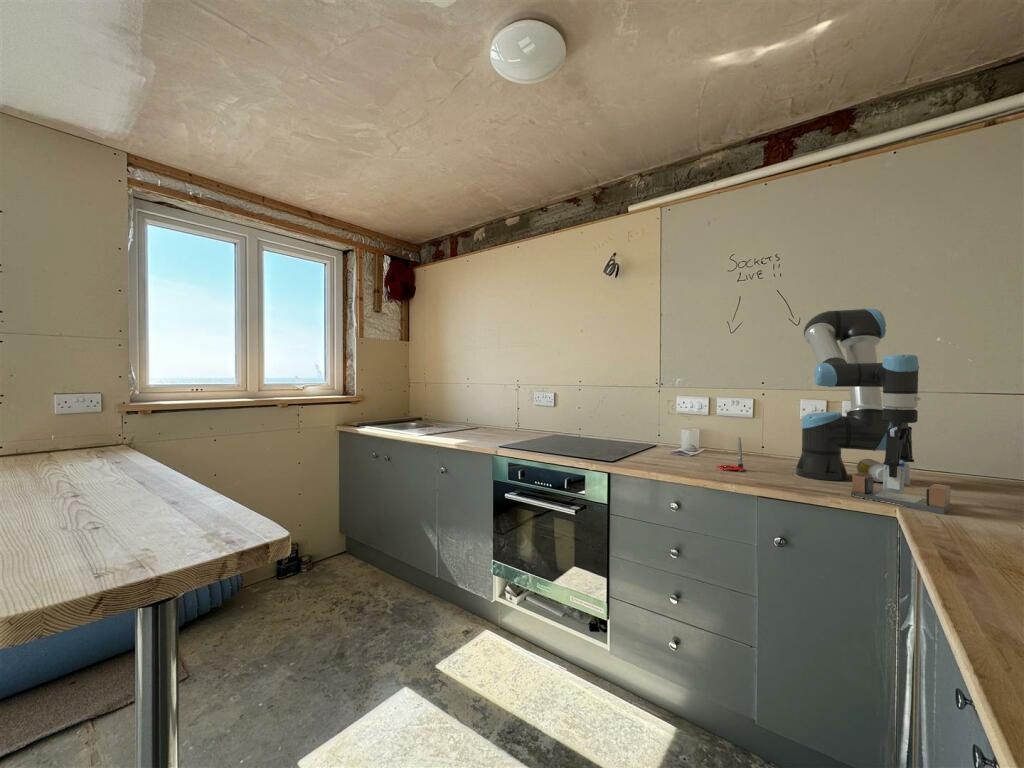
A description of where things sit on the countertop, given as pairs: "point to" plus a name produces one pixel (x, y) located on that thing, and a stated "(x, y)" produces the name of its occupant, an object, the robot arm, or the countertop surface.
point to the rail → (933, 503)
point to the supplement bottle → (871, 469)
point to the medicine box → (900, 479)
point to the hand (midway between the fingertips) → (898, 486)
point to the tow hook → (740, 460)
